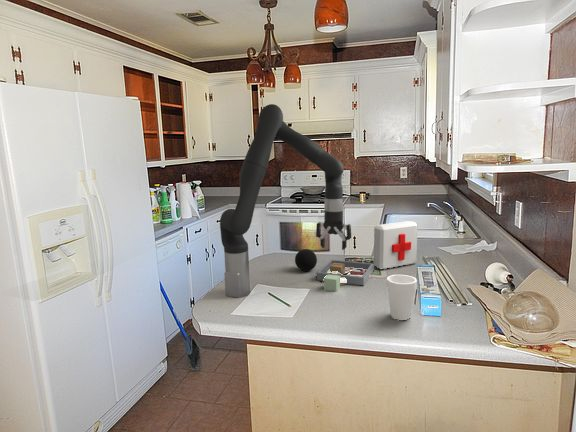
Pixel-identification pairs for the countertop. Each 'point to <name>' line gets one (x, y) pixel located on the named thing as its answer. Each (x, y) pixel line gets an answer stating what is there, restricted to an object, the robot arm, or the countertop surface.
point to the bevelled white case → (395, 244)
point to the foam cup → (401, 295)
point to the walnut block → (338, 267)
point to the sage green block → (332, 283)
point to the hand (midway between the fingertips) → (333, 248)
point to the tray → (350, 279)
